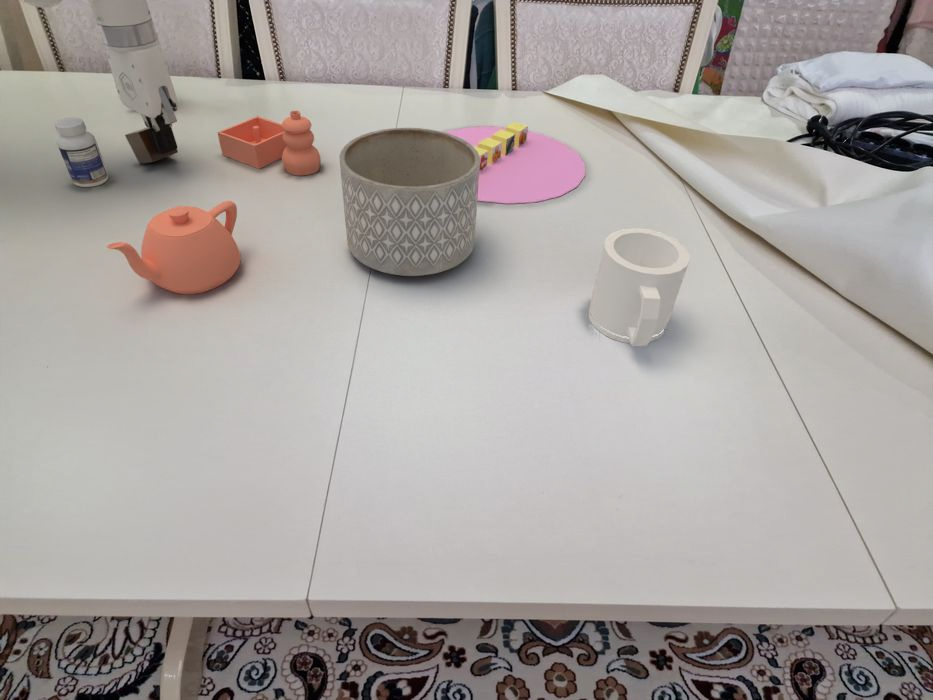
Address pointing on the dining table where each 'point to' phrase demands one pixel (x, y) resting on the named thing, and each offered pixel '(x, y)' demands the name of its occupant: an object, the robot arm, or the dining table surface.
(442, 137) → the planter
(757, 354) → the dining table surface
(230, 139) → the pottery
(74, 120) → the pill bottle
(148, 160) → the walnut block
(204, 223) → the teapot
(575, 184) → the platter
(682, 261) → the mug
